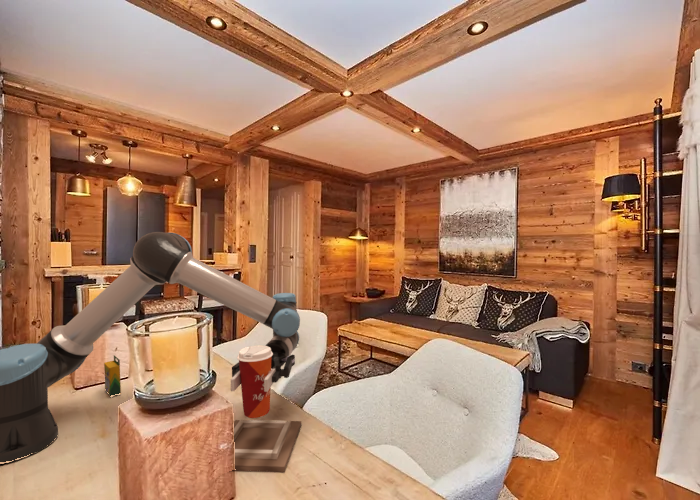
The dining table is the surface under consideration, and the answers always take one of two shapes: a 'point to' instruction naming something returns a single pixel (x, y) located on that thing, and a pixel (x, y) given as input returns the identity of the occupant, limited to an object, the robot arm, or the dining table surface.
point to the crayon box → (112, 376)
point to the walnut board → (264, 444)
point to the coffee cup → (255, 379)
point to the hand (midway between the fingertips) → (249, 385)
